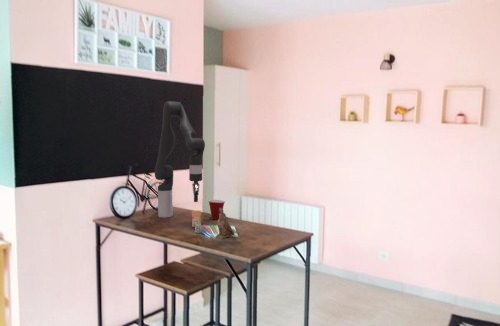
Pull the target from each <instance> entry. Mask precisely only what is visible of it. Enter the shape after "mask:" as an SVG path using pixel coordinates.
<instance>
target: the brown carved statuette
mask: <svg viewBox="0 0 500 326" xmlns="http://www.w3.org/2000/svg"><path fill="white" fill-rule="evenodd" d="M219 211H220V213H219V219H218V220H216V221H217V228H218V232H219V233H218V234H216V235H215V239H219V240H224V239H227V238H230V237H232V236H235V231H234V230H233V228H232V227H231V224H230V223H229V221H228V219H227V214H226V213H225V212H224V208H223V209H222V208H220V209H219Z"/></svg>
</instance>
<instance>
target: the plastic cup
mask: <svg viewBox="0 0 500 326" xmlns="http://www.w3.org/2000/svg"><path fill="white" fill-rule="evenodd" d="M225 203H226V200H222V199H208V204H209V210H210V211H209V212H210V215H211V220H214V221H218V219H219V213H220V211H219V209H220V208H222V209H223V210H224V205H225Z"/></svg>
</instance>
